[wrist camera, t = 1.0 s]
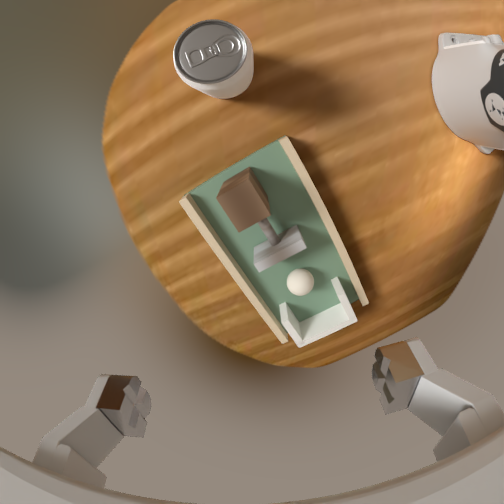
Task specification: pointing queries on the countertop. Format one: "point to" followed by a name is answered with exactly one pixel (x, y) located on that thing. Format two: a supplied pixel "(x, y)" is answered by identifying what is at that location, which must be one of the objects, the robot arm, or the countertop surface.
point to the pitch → (282, 218)
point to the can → (215, 58)
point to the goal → (319, 319)
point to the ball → (300, 282)
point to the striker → (257, 218)
